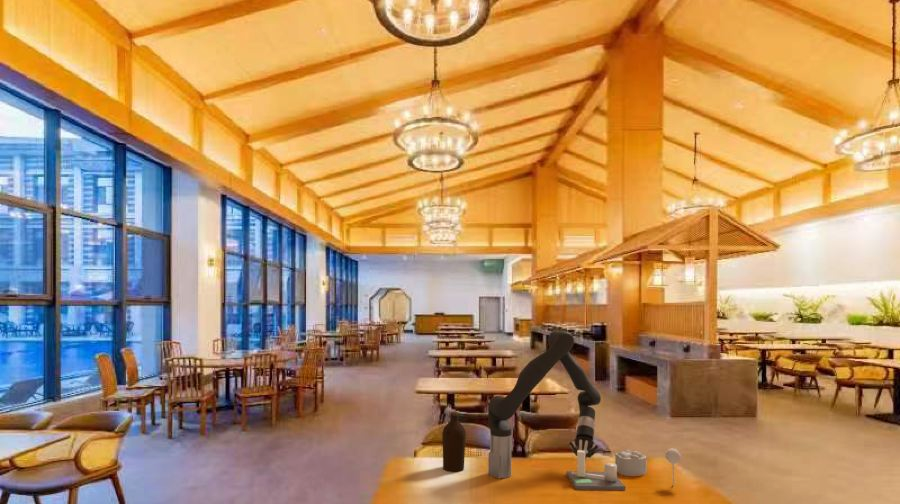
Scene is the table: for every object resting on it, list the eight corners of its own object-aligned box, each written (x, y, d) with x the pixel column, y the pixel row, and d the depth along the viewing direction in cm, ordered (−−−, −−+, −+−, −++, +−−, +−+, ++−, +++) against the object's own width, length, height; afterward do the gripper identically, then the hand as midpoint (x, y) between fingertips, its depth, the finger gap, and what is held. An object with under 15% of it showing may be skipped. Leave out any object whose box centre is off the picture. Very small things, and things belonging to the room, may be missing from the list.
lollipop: (680, 484, 224) (680, 447, 226) (682, 488, 219) (681, 451, 220) (665, 482, 226) (664, 446, 228) (665, 486, 221) (665, 449, 222)
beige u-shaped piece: (617, 478, 224) (617, 454, 225) (616, 482, 220) (616, 457, 220) (572, 472, 231) (572, 448, 232) (570, 475, 226) (570, 451, 227)
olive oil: (465, 473, 234) (466, 414, 236) (441, 472, 234) (442, 414, 236) (465, 465, 244) (466, 409, 246) (442, 464, 245) (443, 409, 247)
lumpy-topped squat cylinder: (613, 468, 244) (613, 448, 245) (640, 468, 245) (640, 448, 246) (622, 476, 234) (622, 455, 234) (651, 475, 235) (651, 455, 235)
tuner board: (576, 489, 216) (576, 485, 216) (566, 474, 234) (566, 470, 234) (625, 490, 216) (625, 486, 216) (611, 475, 234) (611, 471, 234)
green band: (589, 479, 224) (589, 478, 224) (592, 482, 220) (592, 482, 220) (572, 479, 223) (572, 479, 223) (576, 483, 219) (576, 482, 219)
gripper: (569, 422, 242) (565, 458, 230) (600, 426, 237) (596, 462, 225) (571, 431, 246) (567, 467, 234) (601, 435, 241) (598, 471, 229)
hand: (581, 464), depth 230 cm, fingers closed
